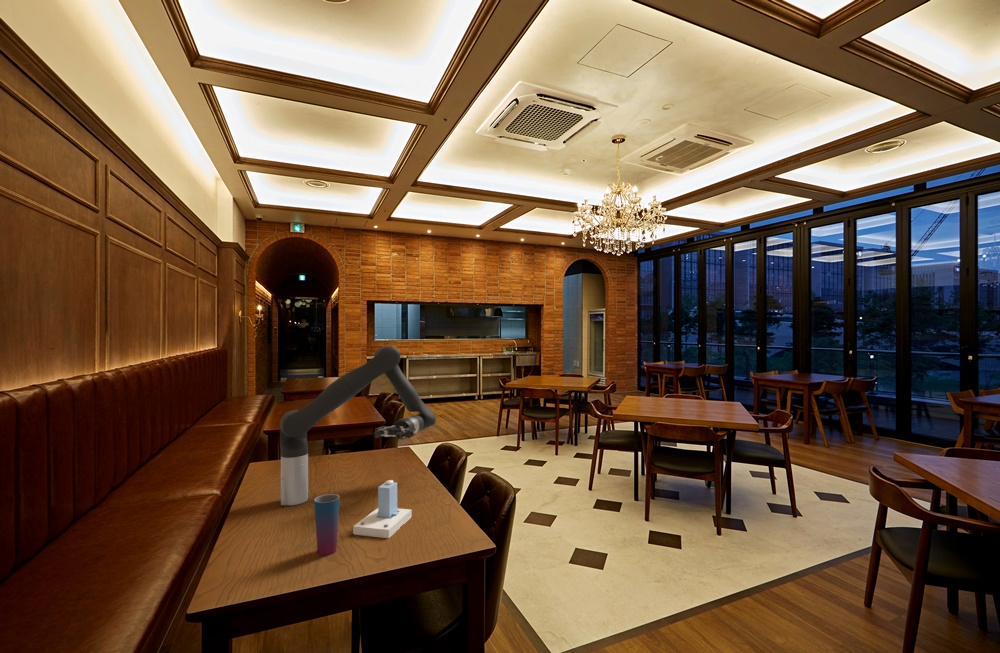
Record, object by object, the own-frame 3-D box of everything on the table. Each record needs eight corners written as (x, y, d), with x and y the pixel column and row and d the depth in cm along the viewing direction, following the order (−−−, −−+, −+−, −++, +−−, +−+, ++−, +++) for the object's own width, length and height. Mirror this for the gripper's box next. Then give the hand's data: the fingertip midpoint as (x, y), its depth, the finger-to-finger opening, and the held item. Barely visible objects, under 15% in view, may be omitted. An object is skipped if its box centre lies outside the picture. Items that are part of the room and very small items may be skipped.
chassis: (388, 538, 135) (388, 528, 135) (353, 534, 137) (353, 524, 138) (411, 517, 150) (411, 508, 150) (379, 514, 153) (379, 505, 153)
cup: (324, 559, 122) (324, 504, 122) (308, 553, 126) (308, 499, 126) (344, 549, 128) (344, 496, 128) (329, 543, 132) (329, 492, 132)
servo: (393, 526, 143) (393, 485, 144) (374, 524, 145) (374, 484, 145) (401, 519, 149) (400, 480, 149) (383, 517, 150) (382, 479, 150)
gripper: (389, 416, 177) (368, 424, 161) (423, 419, 174) (404, 426, 158) (389, 436, 177) (367, 445, 161) (422, 438, 173) (404, 447, 158)
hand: (386, 435), depth 160 cm, fingers open, 8 cm apart
